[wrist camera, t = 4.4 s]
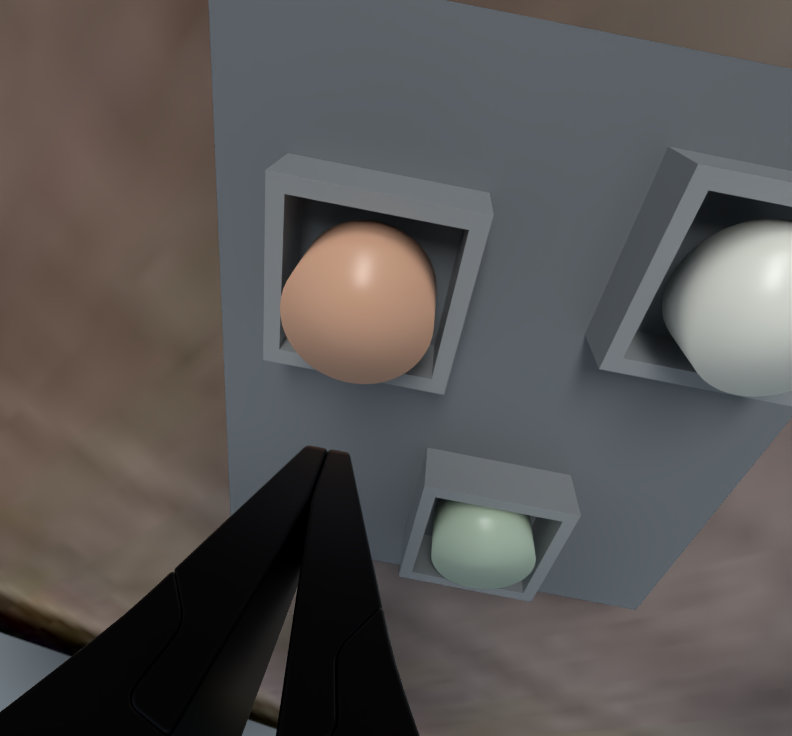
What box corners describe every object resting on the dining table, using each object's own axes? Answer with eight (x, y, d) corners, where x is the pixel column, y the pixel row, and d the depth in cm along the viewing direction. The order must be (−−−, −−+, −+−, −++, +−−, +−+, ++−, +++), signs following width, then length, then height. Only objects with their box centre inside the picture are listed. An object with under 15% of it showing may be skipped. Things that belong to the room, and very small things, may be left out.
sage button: (542, 495, 20) (550, 537, 18) (513, 554, 22) (517, 596, 21) (444, 476, 20) (443, 516, 18) (425, 537, 22) (422, 578, 21)
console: (965, 106, 14) (1126, 131, 10) (624, 573, 26) (648, 651, 23) (237, -39, 13) (165, -60, 10) (245, 500, 26) (214, 569, 23)
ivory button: (866, 235, 12) (928, 267, 11) (771, 366, 15) (810, 409, 13) (707, 204, 12) (745, 231, 11) (637, 340, 15) (659, 380, 13)
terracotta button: (450, 235, 13) (449, 264, 12) (422, 357, 16) (418, 396, 14) (304, 206, 13) (282, 232, 12) (296, 333, 16) (277, 369, 14)
